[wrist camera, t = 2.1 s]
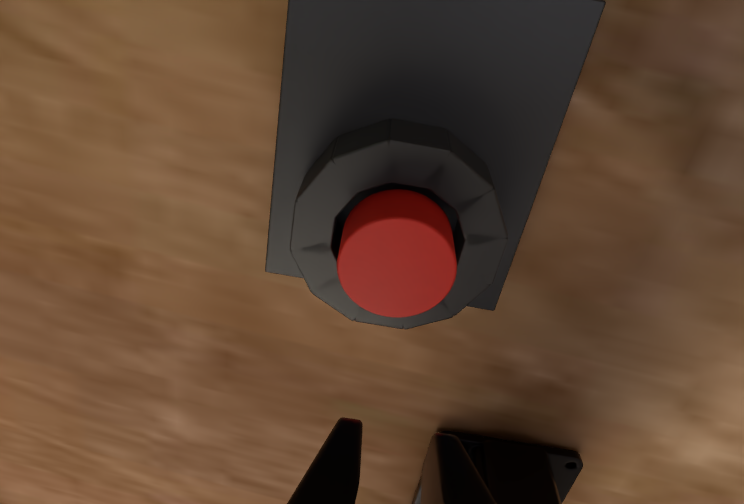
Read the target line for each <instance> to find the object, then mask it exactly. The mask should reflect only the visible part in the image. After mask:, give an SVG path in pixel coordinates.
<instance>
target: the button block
mask: <svg viewBox="0 0 744 504" xmlns="http://www.w3.org/2000/svg"><path fill="white" fill-rule="evenodd" d="M604 6H605V1H604V0H288V11H287V23H286V35H285V46H284V58H283V69H282V81H281V92H280V104H279V116H278V127H277V139H276V150H275V162H274V174H273V185H272V197H271V208H270V220H269V232H268V243H267V255H266V266H265V271H266V272H270V273H276V274H282V275H288V276H294V277H300V278H304V279H305V281H306V283H307V285H308V287H309V289H310V291H311V292H312V293H313V294H314V295H315V296H317V297H318V298H319V299H321V300H322V301H324V302H325V303H327V304H328V305H330V306H331V307H333V308H334V309H336V310H337V311H339V312H340V313H341V314H343V315H344V316H346V317H347V318H349V319H350V320H352V321H353V320H354V321H357V322H363V323H369V324H375V325H381V326H387V327H393V328H399V329H403V328H404V329H409V328H413V327H417V326H421V325H425V324H429V323H433V322H437V321H440V320H444V319H448V318H452V317H453V316H455V315H456V314H457V313H459V312H460V311H461V310H462V309H463V308H465V307H466V306H469V307H475V308H481V309H487V310H492V311H493V310H495V307H496V304H497V302H498V299H499V296H500V293H501V291H502V288H503V285H504V282H505V279H506V277H507V274H508V271H509V268H510V266H511V263H512V260H513V257H514V255H515V252H516V249H517V246H518V244H519V241H520V238H521V235H522V233H523V230H524V227H525V224H526V222H527V219H528V216H529V213H530V211H531V208H532V205H533V202H534V199H535V197H536V194H537V191H538V188H539V186H540V183H541V180H542V177H543V175H544V172H545V169H546V166H547V164H548V161H549V158H550V155H551V153H552V150H553V147H554V144H555V142H556V139H557V136H558V133H559V131H560V128H561V125H562V122H563V119H564V117H565V114H566V111H567V108H568V106H569V103H570V100H571V97H572V95H573V92H574V89H575V86H576V84H577V81H578V78H579V75H580V73H581V70H582V67H583V64H584V62H585V59H586V56H587V53H588V51H589V48H590V45H591V42H592V39H593V37H594V34H595V31H596V28H597V26H598V23H599V20H600V17H601V15H602V12H603V9H604ZM391 189H404V190H410V191H414V192H417V193H420V194H423V195H425V196H426V197H428V198H430V199H431V200H433V201H434V202H435V203H437V204H438V205H439V206H440V207H441V209H442V210H443V211H444V212H445V214H446V216H447V217H448V219H449V222H450V224H451V228H452V234H453V240H454V247H455V254H456V261H457V273H456V278H455V281H454V284H453V286H452V288H451V290H450V291H449V293H448V294H447V295H446V297H445V298H444V299H443V300H442V301H441V302H440V303H438V304H437V305H436V306H435V307H433V308H431V309H429V310H428V311H425V312H423V313H420V314H417V315H414V316H409V317H386V316H381V315H377V314H374V313H371V312H369V311H367V310H365V309H363V308H362V307H360V306H359V305H357V304H356V303H355V302H354V301H353V300H352V299H351V298H350V297H349V296H348V295H347V294H346V292H345V291H344V289H343V287H342V286H341V283H340V281H339V278H338V273H337V258H338V253H339V248H340V243H341V238H342V233H343V228H344V224H345V221H346V219H347V217H348V215H349V213H350V212H351V211H352V209H353V208H354V207H355V206H356V205H357V204H358V203H359V202H360V201H362V200H363V199H365V198H366V197H368V196H370V195H372V194H374V193H377V192H380V191H384V190H391Z"/></svg>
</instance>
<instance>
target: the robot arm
mask: <svg viewBox="0 0 744 504" xmlns="http://www.w3.org/2000/svg"><path fill="white" fill-rule="evenodd" d="M361 445H362V422H361V421H360V420H357V419H350V418H344V417H342V418H340V419H339V420H338V421H337V423H336V425H335V426H334V428H333V429H332V431H331V433H330V434H329V436H328V438H327V439H326V441H325V443H324V444H323V446H322V447H321V449H320V451H319V452H318V454H317V456H316V457H315V459H314V461H313V462H312V464H311V465H310V467H309V469H308V470H307V472H306V474H305V475H304V477H303V479H302V480H301V482H300V483H299V485H298V487H297V488H296V490H295V492H294V493H293V495H292V497H291V498H290V500H289V501H288V503H287V504H355V500H356V496H357V491H358V486H359V478H360V464H361ZM582 467H583V463H582V460H581V457H580V454H579V453H578V452H576V451H572V450H566V449H560V448H553V447H547V446H541V445H535V444H528V443H522V442H516V441H510V440H503V439H497V438H491V437H485V436H478V435H472V434H466V433H460V432H453V431H441V432H439V433H435V434H434V435H433V436H432V439H431V442H430V445H429V448H428V451H427V454H426V457H425V460H424V463H423V469H422V475H421V478H420V481H419V484H418V487H417V490H416V493H415V496H414V499H413V502H412V504H562V502H563V500H564V499H565V497H566V495H567V493H568V492H569V490H570V488H571V487H572V485H573V483H574V481H575V480H576V478H577V476H578V474H579V473H580V471H581V469H582Z"/></svg>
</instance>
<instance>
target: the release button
mask: <svg viewBox="0 0 744 504" xmlns="http://www.w3.org/2000/svg"><path fill="white" fill-rule="evenodd" d="M337 273H338V278H339V281H340V283H341V286H342V287H343V289H344V291H345V292H346V294H347V295H348V296H349V297H350V298H351V299H352V300H353V301H354V302H355V303H356V304H357V305H359V306H360V307H362V308H363V309H365V310H367V311H369V312H371V313H374V314H377V315H381V316H386V317H409V316H414V315H417V314H420V313H423V312H425V311H428V310H429V309H431V308H433V307H435V306H436V305H437V304H438V303H440V302H441V301H442V300H443V299H444V298H445V297H446V295H447V294H448V293H449V291H450V290H451V288H452V286H453V284H454V281H455V278H456V273H457V261H456V254H455V247H454V240H453V234H452V228H451V224H450V222H449V219H448V217H447V216H446V214H445V212H444V211H443V210H442V209H441V207H440V206H439V205H438V204H437V203H435V202H434V201H433V200H431V199H430V198H428V197H426V196H425V195H423V194H420V193H417V192H414V191H410V190H404V189H391V190H384V191H380V192H377V193H374V194H372V195H370V196H368V197H366V198H365V199H363V200H362V201H360V202H359V203H358V204H357V205H356V206H355V207H354V208H353V209H352V211H351V212H350V213H349V215H348V217H347V219H346V221H345V224H344V228H343V233H342V238H341V243H340V248H339V253H338V258H337Z"/></svg>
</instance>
